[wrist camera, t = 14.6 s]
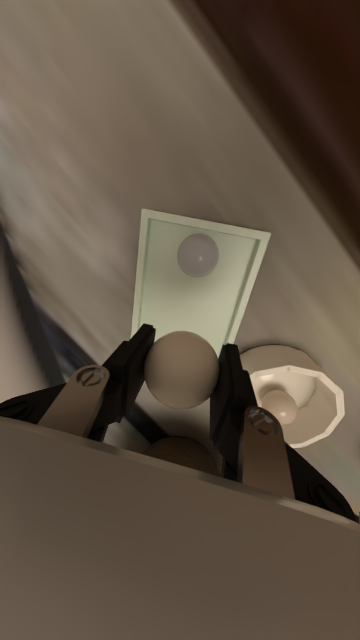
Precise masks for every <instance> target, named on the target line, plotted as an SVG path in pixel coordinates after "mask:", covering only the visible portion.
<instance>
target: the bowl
mask: <svg viewBox="0 0 360 640" xmlns="http://www.w3.org/2000/svg"><path fill="white" fill-rule="evenodd" d="M240 359H241V363H242V367H243V370H247V371H248V372H249V375H250V379H251V382H252V386H253V389H254V393H255V396H256V400H257V404H258V407H262V405H261V404H262V398H263V396H264V395H265V394H266V393H267V392H268V391H270V390H282V391H284V392H286V393H288V394H289V395H290V396H291V397H292V398H293V399H294V400H295V402H296V405H297V408H298V413H297V417H296V419H295V420H294V421H293V422H292V423H290V424H286V425H281V427H282V430H283V435H284V441H285V442H286V443H287V444H289V445H290V446H291V447H292V448H299V447H305V446H307V445H309V444H311V443H313V442H316V441H318V440H320V439H322V438H324V437H326V436H328V435H330V433H331V432H332V431H333V430H334V428H335V427H336V426H337V424H338V423H339V422H340V420H341V419H342V418H343V416H344V415H345V412H344V397H343V391H342V390H341V389H340V388H339V387H338V386H337V385H336V384H335V382H334V381H333V380H332V379H331V378H330V377H329V376H328V375H327V374H326V373H325V372H324V371H323V370H322V369H321V368H320V367H319V366H318V365H317V364H316V363H315V362H314V361H313V360H312V359H311V358H310V357H309V356H308V355H307V354H305V353H304V352H303V351H300V350H298V349H295V348H292V347H289V346H284V345H265V346H259V347H256V348H253V349H250V350H248V351H246V352H244V353H242V354H240Z"/></svg>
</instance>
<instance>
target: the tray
mask: <svg viewBox="0 0 360 640" xmlns="http://www.w3.org/2000/svg"><path fill="white" fill-rule="evenodd" d="M193 234H205V235H207V236H209V237H211V238H212V239H213V240H214V241H215V243H216V245H217V247H218V250H219V259H218V263H217V265H216V267H215V269H214V270H213V271H212V272H211V273H210V274H208V275H206V276H204V277H200V278H195V277H191V276H188V275H187V274H185V273H184V272H183V271H182V270H181V268H180V266H179V264H178V261H177V252H178V248H179V246H180V244H181V243H182V241H183V240H184V239H185V238H187V237H188V236H190V235H193ZM270 236H271V233H268V232H263V231H258V230H253V229H247V228H242V227H237V226H232V225H226V224H221V223H216V222H211V221H206V220H200V219H195V218H190V217H185V216H179V215H174V214H169V213H164V212H159V211H153V210H148V209H143V208H142V212H141V224H140V236H139V248H138V260H137V272H136V283H135V295H134V307H133V319H132V331H131V338H132V337H133V335H134V334H135V333H136V332H137V331H138V329H139V328H140V327H141V326H142V325H143V324H144V323H145V324H149V325H153V328H156V333H155V341H154V342H156V341H157V340H158V339H159V338H160V337H162V336H163V335H166V334H168V333H170V332H174V331H189V332H193V333H196V334H198V335H200V336H202V337H203V338H204V339H206V340H207V341H208V342H209V343H210V344H211V346H212V347H213V348H214V350H215V352H216V354H217V357H218V358H219V354H220V351H221V348H222V345H223V344H224V345H226V344H227V343H230V344H233V343H234V340H235V337H236V334H237V331H238V329H239V326H240V323H241V320H242V317H243V314H244V311H245V308H246V305H247V302H248V300H249V297H250V294H251V291H252V288H253V285H254V282H255V279H256V276H257V273H258V270H259V268H260V265H261V262H262V259H263V256H264V253H265V250H266V247H267V244H268V241H269V239H270Z"/></svg>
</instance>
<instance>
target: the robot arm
mask: <svg viewBox="0 0 360 640" xmlns="http://www.w3.org/2000/svg"><path fill="white" fill-rule="evenodd" d="M155 333H156V328H153V325H149V324H145V323H144V324H143V325H142V326H141V327H140V328H139V329H138V331H137V332H136V333H135V334H134V335H133V337H132V338H131V339H130V340H129V341H123V342H122V343H121V344H120V346H119V347H118V348H117V349H116V350H115V351H114V352H113V353H112V355H111V356H110V357H109V358H108V359H107V360H106V361H105V362H104V364H103V365H102V366H99V365H90V366H86V367H83V368H81V369H79V370H77V371H76V372H75V373H74V374H73V376H72V377H71V378H70V380H69V381H68V382H67V383H65V384H61V385H58V386H54V387H50V388H46V389H43V390H39V391H35V392H32V393H28V394H25V395H21V396H17V397H14V398H11V399H9V400H6V401H4V402H2V403H0V640H360V512H358V513H357V514H355V513H354V512H353V511H352V509H351V507H350V505H349V503H348V502H347V500H346V499H345V498H344V496H343V495H342V494H341V493H340V492H339V491H338V490H337V489H336V488H335V487H334V486H333V485H332V484H331V483H330V482H329V481H328V480H327V479H326V478H325V477H323V476H322V475H321V474H320V473H319V472H318V471H317V470H316V469H315V468H314V467H313V466H311V465H310V464H309V463H308V462H307V461H306V460H305V459H304V458H303V457H302V456H301V455H299V454H298V453H297V452H296V451H295V450H294V449H293V448H292V447H291V446H290V445H289V444H287V443H286V442H285V441H284V435H283V430H282V427H281V424H280V422H279V421H278V419H277V418H276V417H275V416H274V415H273V414H272V413H270V412H269V411H268V410H266V409H264V408H262V407H258V404H257V400H256V396H255V393H254V389H253V386H252V382H251V379H250V375H249V372H248V371H247V370H243V367H242V363H241V359H240V355H239V351H238V347H237V345H234V344H230V343H227V344H226V345H224V344H223V345H222V348H221V351H220V354H219V358H218V360H219V365H220V374H219V380H218V383H217V386H216V388H215V390H214V392H213V393H212V395H211V396H210V440H212V441H213V443H214V449H215V450H218V451H219V452H220V453H221V455H222V456H223V457H224V458H223V463H222V470H221V477H218V476H215V475H211V474H208V473H205V472H201V471H198V470H194V469H191V468H188V467H184V466H181V465H177V464H174V463H170V462H167V461H164V460H160V459H157V458H153V457H150V456H146V455H143V454H139V453H136V452H132V451H129V450H125V449H122V448H119V447H115V446H111V445H108V444H104V443H103V440H104V437H105V434H106V431H107V428H108V425H109V424H111V423H114V422H118V423H120V422H121V420H122V418H123V416H125V417H127V415H128V414H129V412H130V409H131V407H132V405H133V403H134V401H135V399H136V397H137V395H138V393H139V391H140V389H141V387H142V385H143V383H144V380H145V377H144V363H145V359H146V356H147V353H148V351H149V349H150V348H151V346H152V345H153V344H154V341H155Z"/></svg>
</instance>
